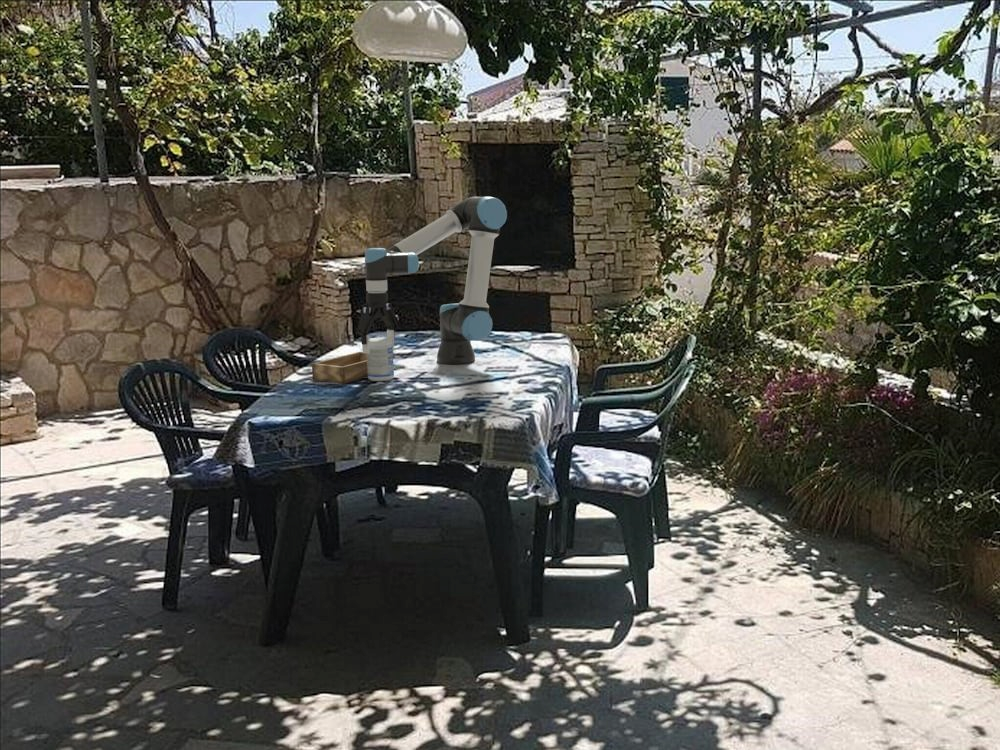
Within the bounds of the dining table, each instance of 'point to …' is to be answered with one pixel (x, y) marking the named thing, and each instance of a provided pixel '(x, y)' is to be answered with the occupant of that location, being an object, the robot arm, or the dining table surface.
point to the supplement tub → (380, 359)
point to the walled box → (341, 368)
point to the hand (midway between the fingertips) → (378, 350)
